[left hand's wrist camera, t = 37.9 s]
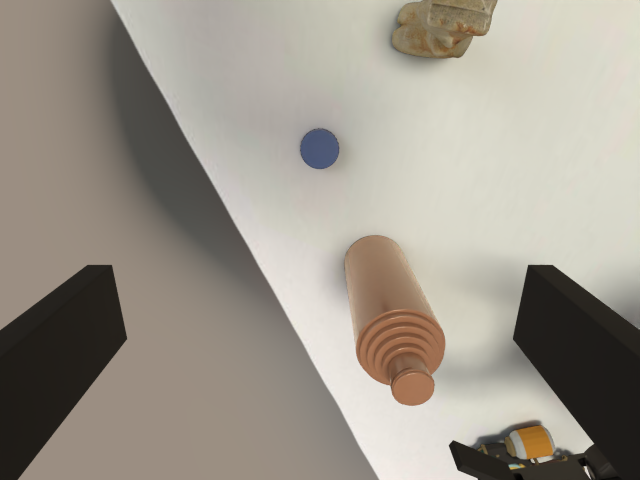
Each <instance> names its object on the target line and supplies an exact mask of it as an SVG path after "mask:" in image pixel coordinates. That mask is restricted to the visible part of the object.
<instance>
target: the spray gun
mask: <svg viewBox="0 0 640 480" xmlns="http://www.w3.org/2000/svg"><path fill="white" fill-rule="evenodd" d="M481 450H482V451H481ZM554 450H555V445H554V442H553V439H552V437H551V435H550V433H549V431H548V430H547V429H546V428H545V427H543V426H541V425H538V426H533V427H529V428H524V429H519V430H515V431H513V432H511V433H510V435H509V436H508V437H505V442H504V443H496V444H488V445H484V444H482V445H481V448H479V449H478V451H481V452H483V453H485V454H487V455H490V456H492V457H495V458H497V459H499V460H502V461H504V462H507V464H508V466H509V468H510V470H511V469H517V468H523V467H530V466H536V465H542V464H548V463H555V462H561V461H566V460H567V459H568V457H567V456H566V455H563V456H562V460H559V459H557V460H550V461H547V462H543V463H538V460H537V459H536V458H537V457H543V456H550V455H553V454H554ZM531 458H533V459H534V461H535V463H532V462H531V460H530V459H531ZM582 468H583V470H584V471H585V468H584V467H582Z"/></svg>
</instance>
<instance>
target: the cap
mask: <svg viewBox="0 0 640 480" xmlns="http://www.w3.org/2000/svg"><path fill="white" fill-rule="evenodd" d="M300 151H301V155H302V158H303V160H304V161H305V162H306V163H307V164H308V165H309V166H311V167H313V168H316V169H324V168H327V167H329V166H331V165H332V164H333V163H334V162H335V161H336V159H337V157H338V153H339V146H338V142H337V139H336V138H335V136H334V135H333V134H332V133H331V132H329V131H327V130H325V129H319V128H318V129H314V130H312V131H310V132H309V133H308V134H307V135H306V136H305V137H304V139H303V140H302V144H301V150H300Z"/></svg>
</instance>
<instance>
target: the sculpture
mask: <svg viewBox="0 0 640 480" xmlns="http://www.w3.org/2000/svg"><path fill="white" fill-rule="evenodd" d="M496 4H497V0H423V1H421V2H414V3H408V4H406V5H404V6H403V7H402V9H401V11H400V13H399V16H398V20H397V21H398V23H399V24H400V25H401V27H400V28H398V29H396V30H395V31H394V33H393V36H392V43H393V46H394V47H395V48H396V49H397V50H399V51H401V52H403V53H406V54H411V55H415V56H422V57H431V58H452V57H455V58H459V57H461V56H463V54H464V53H465V51H466V50H467V48H468V47H469V45H470V43H471V41H472V38H473V36H483V35H486V34H487V32H488V31H489V28H490V24H491V18H492V14H493V11H494V8H495V6H496Z"/></svg>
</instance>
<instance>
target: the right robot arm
mask: <svg viewBox="0 0 640 480" xmlns="http://www.w3.org/2000/svg"><path fill="white" fill-rule="evenodd" d="M449 447H450V450H451V453H452V455H453V458H454V461H455V464H456V466H457V469H458V471H461V472H463V473H466V474H468V475H471V476H473V477H476V478H478V480H622V479H621V477H620V476H619V475H618V473H617V472H616V471H615V470H614V468H613V467H612V466H611V464H610V463H609V462H608V461H607V459H606V458H605V457H604V455H603V454H602V453H601V452H600V450H599V449H598V448H597V446H596V445H595V444H594V445H592V446H591V447H589V448H588V449H587V450H586V451H585V452H584V453H581V454H575V455H570V456H568V459H567V460H566V461H561V462H555V463H548V464H542V465H536V466H530V467H523V468H517V469H511V470H510V468H509V466H508V464H507V462H504V461H502V460H499V459H497V458H495V457H492V456H490V455H487V454H485V453H483V452H480V451H478V450H475V449H473V448H471V447H468V446H466V445H463V444H461V443H459V442H456V441H454V440H453V441H452V442H451V443H450V445H449ZM583 466H587V469H588V472H589V475H590V477H591V479H590V478H589V477H588V475H587V474H586V472H585V471H584V470H583V468H582V467H583Z"/></svg>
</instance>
